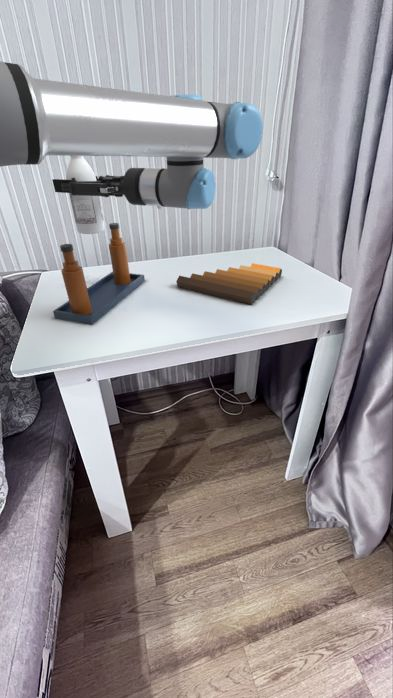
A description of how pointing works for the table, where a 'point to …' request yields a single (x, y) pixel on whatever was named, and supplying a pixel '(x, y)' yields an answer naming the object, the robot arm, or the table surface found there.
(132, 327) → the table surface
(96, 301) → the tray
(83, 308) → the amber bottle near
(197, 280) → the pan flute
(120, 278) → the amber bottle far
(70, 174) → the bath foam
